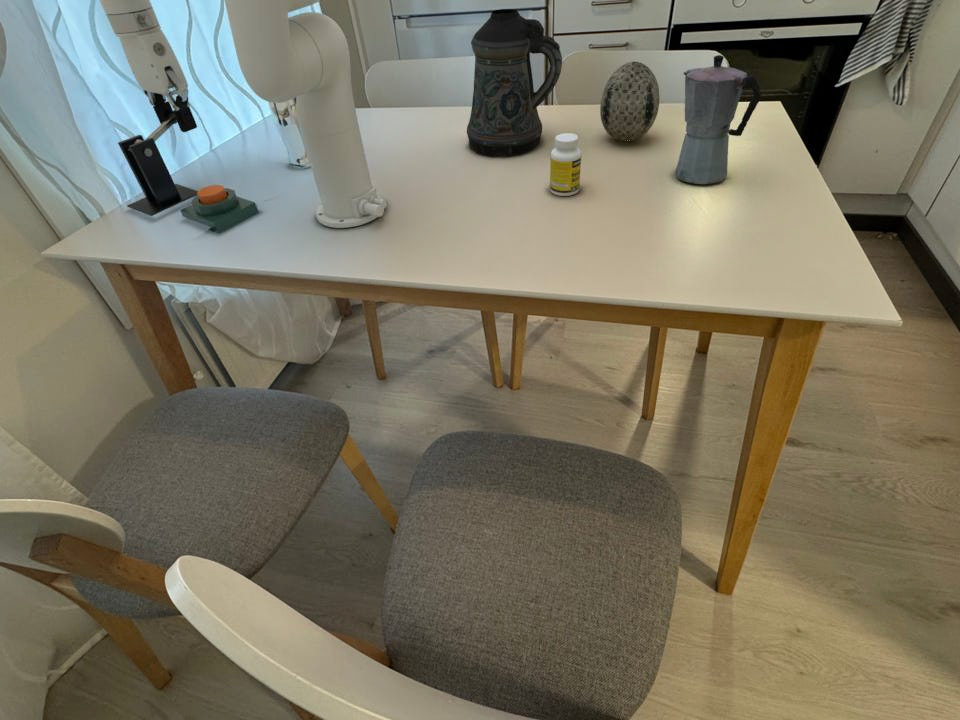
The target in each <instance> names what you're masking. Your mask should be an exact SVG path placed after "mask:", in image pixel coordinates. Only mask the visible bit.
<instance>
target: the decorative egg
mask: <svg viewBox="0 0 960 720" xmlns="http://www.w3.org/2000/svg"><path fill="white" fill-rule="evenodd" d="M660 99H661V98H660V88H659V83H658V80H657V78H656V76H655V74H654V73H653V71H652V70H651V68H650V67H648V65H646V64H645V63H643V62H639V61H629V62H626V63H624V64H622V65H621V66H619V67H618V68H616V70H615V71H613V73H612V74H611V76H610V77H609V79H608V80H607V82H606V84H605V87H604V89H603V92H602V95H601V100H600V107H599V109H600V110H599V113H600V114H599V115H600V120H601V124H602V127H603V129H604V130H605V132H606V133H607V135H609V136H610V137H611V138H613V139H614V140H616V141H619V142H623V143H629V142H633V141H636V140H638V139H640V138H642V137H644V136H645V135H646V134H647V133H648V132H649V131H650V129H651V128H652V126H653V125H654V123H655V121H656V119H657V116H658V114H659V108H660ZM627 140H628V141H627ZM629 140H630V141H629Z"/></svg>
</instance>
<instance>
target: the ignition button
mask: <svg viewBox="0 0 960 720" xmlns="http://www.w3.org/2000/svg"><path fill="white" fill-rule="evenodd" d="M225 188H226V187H225V186H224V185H221V184H210V185H207V186H204V187H202V188H200V189H199V190H197V191H198V192H197V195H198V197H199V199H200V201H201V203H202V204H212V203H216V202H220V201H222V200H224V199H226V197H227V193H226V191H225ZM197 195H196V196H197Z"/></svg>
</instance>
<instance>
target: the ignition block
mask: <svg viewBox="0 0 960 720" xmlns="http://www.w3.org/2000/svg"><path fill="white" fill-rule="evenodd" d="M224 188H225V191H226V193H227V197H226V199H224V200H222V201H220V202H216V203H212V204H202V203H201V201H200V199H199V197H198V195H196V196H194V198H193V199H191V204H190V205H187V206H186V207H184V208H181V209H180V213H181V215H182V217H184V218H186V219H189V220H191V221H195V222H197V223H199V224H202V225H204V226H207V227H210V228H208V229H207V230H208V231H210V232H213V233H215V234H218V235H220V234H221V233H223V232H226V231H227V230H229V229H230V228H233V227H235V226H237V225H239V224H240V223H242V222H244V221H246V220H248V219H250V218H252V217H254V216H255V215H258V214H259V209H258V207H257V205H256V202H255V201H252V200H249V199H246V198H243V197H240V196H237V194H236V191H235V189H231V188H228V187H224Z"/></svg>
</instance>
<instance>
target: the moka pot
mask: <svg viewBox="0 0 960 720" xmlns="http://www.w3.org/2000/svg"><path fill="white" fill-rule="evenodd" d="M724 58H725V56H724V55H721V54H718V55H715V56H713V66H707V67H697V68H696V67H695V68H690V69H686V71H684V72H683V75H684V76H685V77H684V122H685V123H686V125H685V134H684V138H683V140H682V145H681V149H680V153H679V157H678V161H677V164H676V168H675V177H676V178H677V179H678V180H679V181H681V182H685V183H688V184H693V185H694V184H695V185H707V184H716V183H719V182H722V181H724V180H725V179H726V178H727V175H728V162H729V159H728V157H729V143H730V141H729V140H730V136H733V137H734V136H735V137H741V136H742V135H743V132H744V131H745V128H746V127H747V125H748V122H749V121H750V118H751V117H752V115H753V112H754V111H755V109H756V107H757V106H758V104H759V102H760V99H761V96H762V91H761V89H760V87H761V86H760V85H759V84H758V83H757V79H756V75H748V72H745V71H743V70H741V69H737V68H735V67H729V66H722V64H723V61H724ZM746 89H751V91H752V92H753V95H752V97H751V99H750V101H749V103H748V106H747V108H746V110H745V112H744V113H743V116H742V119H741V122H740V123H739V124H738V126H737V128H736V129H733V128H730V127H731V123H732V122H733V120H734V118H735V115H736V112H737V108H738V106H739V102H740V99H741V96H742V93H743V90H746Z"/></svg>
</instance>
